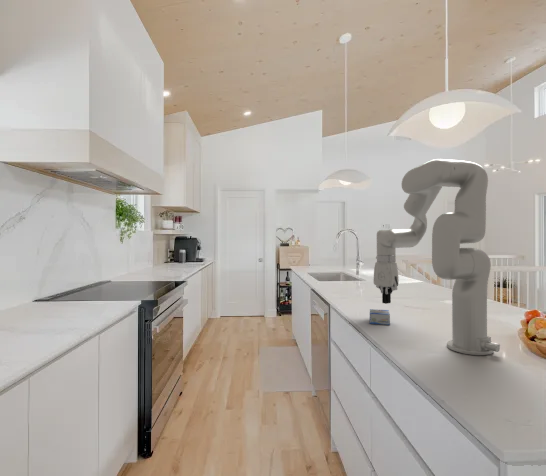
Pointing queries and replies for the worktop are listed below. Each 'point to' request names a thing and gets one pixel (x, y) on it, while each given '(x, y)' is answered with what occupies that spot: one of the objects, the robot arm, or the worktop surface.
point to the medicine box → (379, 317)
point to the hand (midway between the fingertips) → (386, 302)
